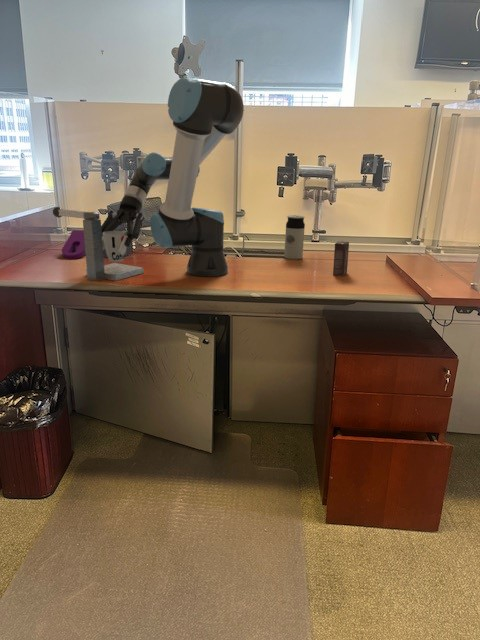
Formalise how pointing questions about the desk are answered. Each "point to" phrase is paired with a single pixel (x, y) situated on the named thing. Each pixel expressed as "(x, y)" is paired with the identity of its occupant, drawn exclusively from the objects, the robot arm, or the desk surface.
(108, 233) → the cup
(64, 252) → the mounting bracket
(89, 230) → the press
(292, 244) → the travel mug
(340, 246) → the box
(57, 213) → the lever
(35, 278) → the desk surface
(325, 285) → the desk surface
